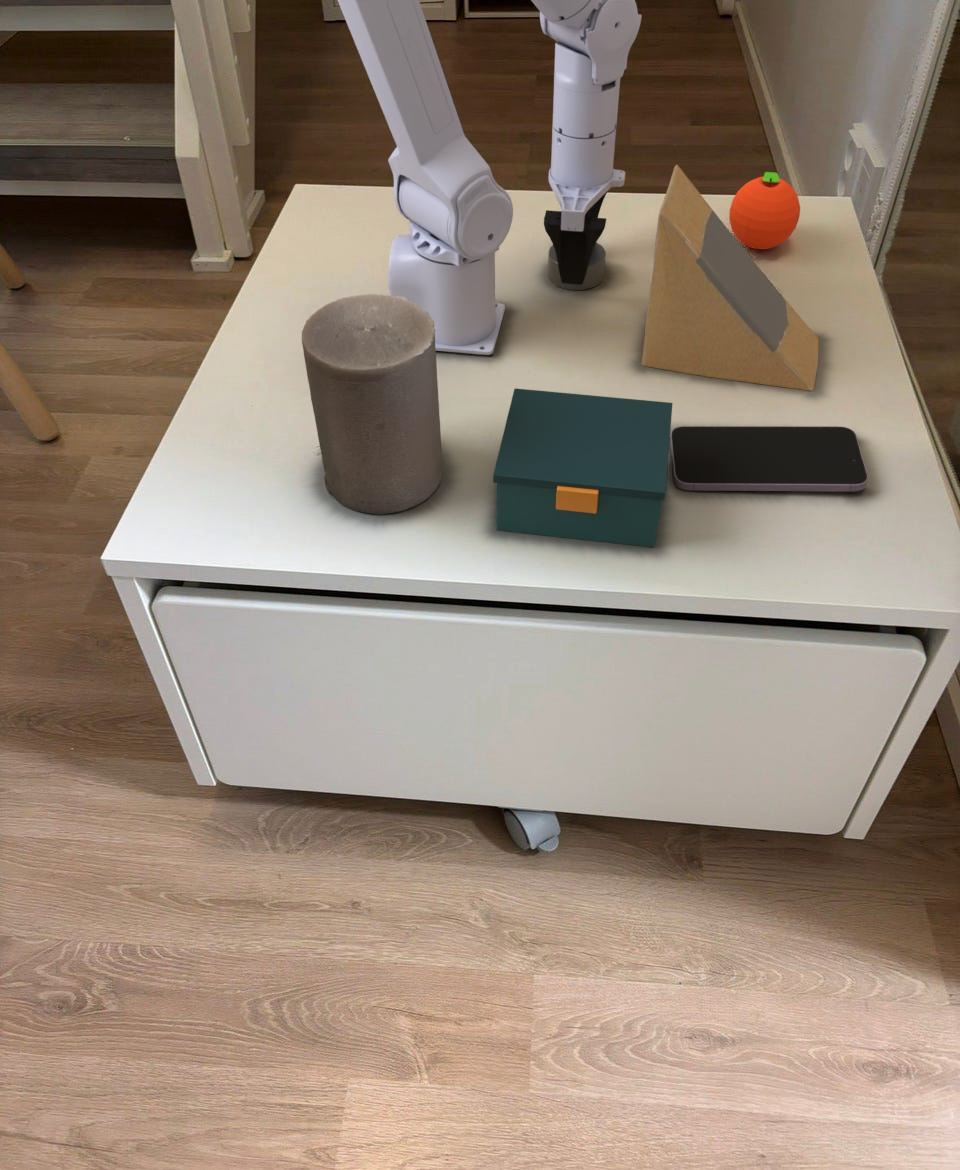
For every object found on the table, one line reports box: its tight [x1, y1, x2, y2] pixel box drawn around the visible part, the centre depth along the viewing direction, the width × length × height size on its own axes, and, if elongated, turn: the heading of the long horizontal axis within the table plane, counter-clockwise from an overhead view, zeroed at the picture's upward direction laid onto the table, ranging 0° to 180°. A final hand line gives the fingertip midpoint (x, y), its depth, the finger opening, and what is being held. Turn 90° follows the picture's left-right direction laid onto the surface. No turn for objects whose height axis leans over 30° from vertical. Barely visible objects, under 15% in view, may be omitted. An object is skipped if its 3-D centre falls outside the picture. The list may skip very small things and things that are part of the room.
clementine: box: [728, 171, 801, 250], centre depth 104 cm, size 8×7×7 cm
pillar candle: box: [301, 293, 443, 515], centre depth 78 cm, size 10×10×15 cm
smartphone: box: [669, 425, 869, 493], centre depth 83 cm, size 7×1×15 cm
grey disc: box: [547, 241, 607, 291], centre depth 102 cm, size 6×6×2 cm
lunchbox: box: [492, 388, 673, 548], centre depth 79 cm, size 12×11×6 cm
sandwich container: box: [641, 164, 820, 392], centre depth 88 cm, size 9×15×15 cm, turn 74°
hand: (576, 262), depth 102 cm, fingers open, 7 cm apart
